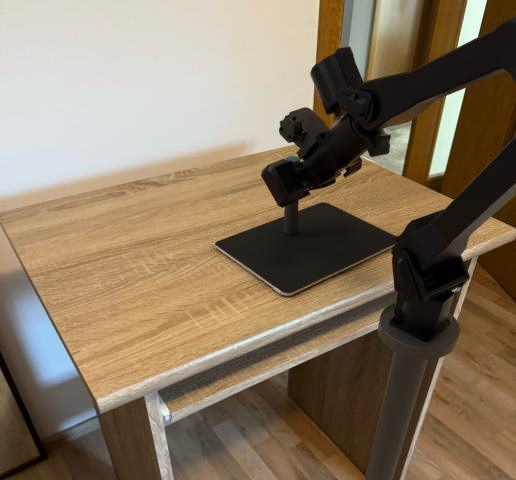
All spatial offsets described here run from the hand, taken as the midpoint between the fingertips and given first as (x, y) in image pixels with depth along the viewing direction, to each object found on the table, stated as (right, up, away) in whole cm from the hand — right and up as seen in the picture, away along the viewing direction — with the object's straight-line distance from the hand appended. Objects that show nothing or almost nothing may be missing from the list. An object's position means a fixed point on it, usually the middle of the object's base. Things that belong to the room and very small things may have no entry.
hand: (285, 194), depth 83 cm
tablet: (+4, -8, +2) cm, 9 cm away
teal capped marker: (+1, -6, +4) cm, 7 cm away
